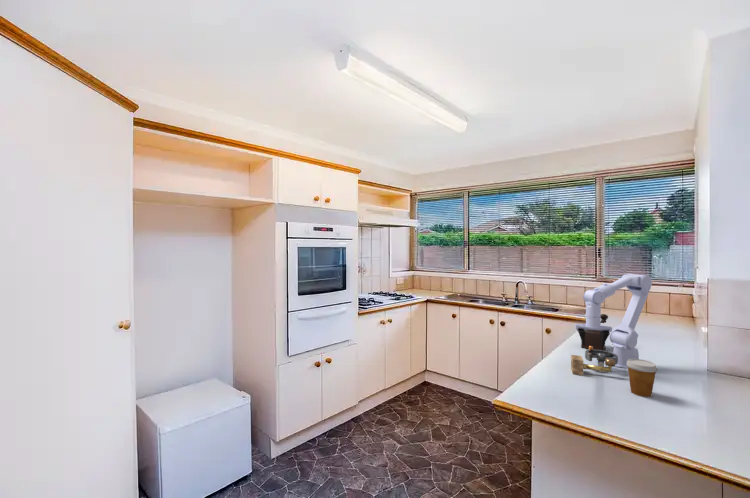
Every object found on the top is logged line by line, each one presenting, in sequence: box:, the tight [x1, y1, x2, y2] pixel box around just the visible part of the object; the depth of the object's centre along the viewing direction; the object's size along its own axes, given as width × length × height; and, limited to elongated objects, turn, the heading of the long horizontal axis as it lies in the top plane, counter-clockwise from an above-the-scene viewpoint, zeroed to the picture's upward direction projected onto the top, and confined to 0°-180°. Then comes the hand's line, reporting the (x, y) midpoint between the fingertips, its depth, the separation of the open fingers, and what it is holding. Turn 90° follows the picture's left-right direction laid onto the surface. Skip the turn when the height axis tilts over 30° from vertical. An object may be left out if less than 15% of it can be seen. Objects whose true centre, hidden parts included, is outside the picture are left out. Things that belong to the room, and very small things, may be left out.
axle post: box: [594, 360, 608, 374], centre depth 158 cm, size 6×6×4 cm
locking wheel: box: [584, 346, 618, 365], centre depth 158 cm, size 10×12×5 cm
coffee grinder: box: [580, 313, 609, 351], centre depth 193 cm, size 16×11×18 cm
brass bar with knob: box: [583, 358, 615, 373], centre depth 152 cm, size 13×4×6 cm, turn 66°
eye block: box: [570, 354, 584, 376], centre depth 155 cm, size 4×7×6 cm, turn 156°
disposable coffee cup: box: [626, 359, 659, 398], centre depth 133 cm, size 10×10×12 cm
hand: (592, 345), depth 160 cm, fingers open, 7 cm apart
